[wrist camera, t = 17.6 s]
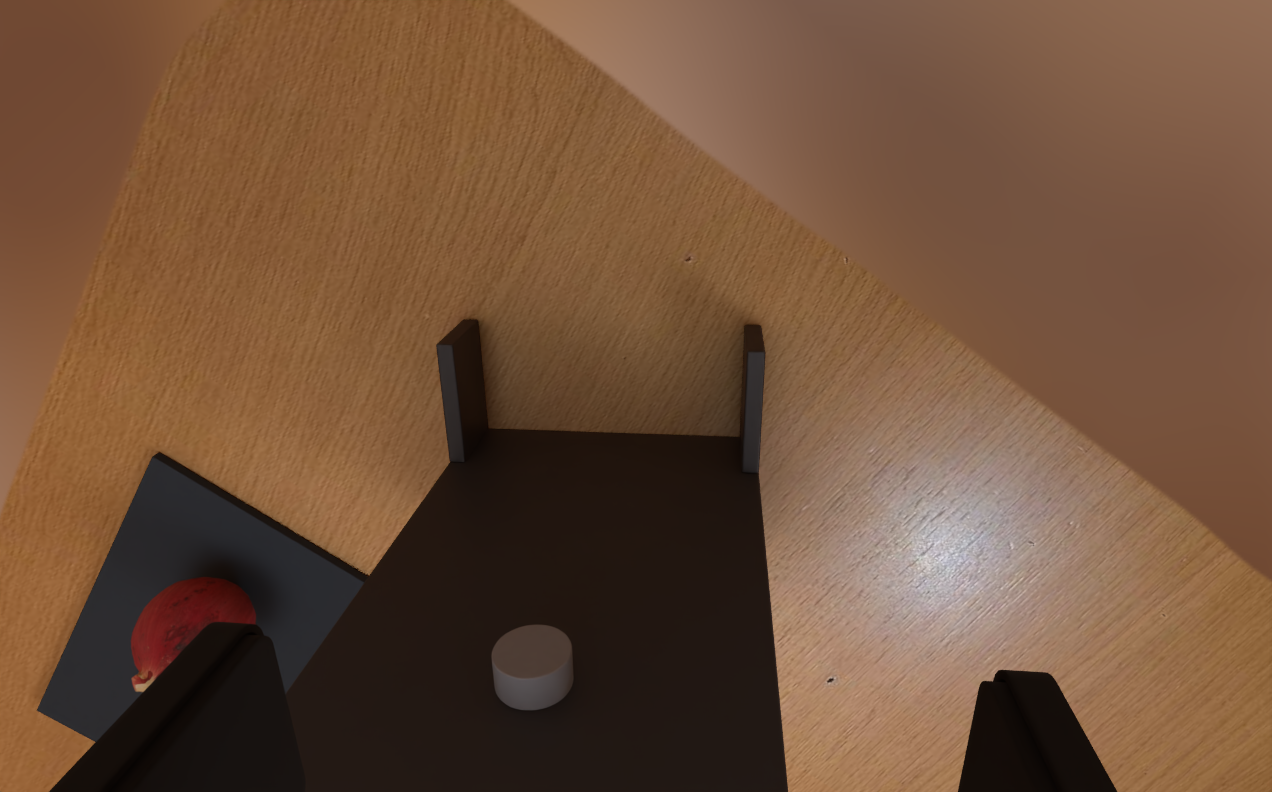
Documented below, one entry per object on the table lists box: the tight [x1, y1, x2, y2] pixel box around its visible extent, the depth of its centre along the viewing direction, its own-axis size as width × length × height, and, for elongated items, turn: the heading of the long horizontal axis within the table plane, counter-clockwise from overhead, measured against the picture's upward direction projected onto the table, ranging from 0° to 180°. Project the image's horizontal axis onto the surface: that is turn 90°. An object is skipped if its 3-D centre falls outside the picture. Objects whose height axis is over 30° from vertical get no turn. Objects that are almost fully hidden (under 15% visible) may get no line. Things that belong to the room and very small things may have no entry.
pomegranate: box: [131, 577, 256, 692], centre depth 42 cm, size 6×6×8 cm
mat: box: [37, 453, 368, 742], centre depth 49 cm, size 24×14×1 cm, turn 146°
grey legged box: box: [286, 320, 788, 792], centre depth 29 cm, size 13×15×25 cm
